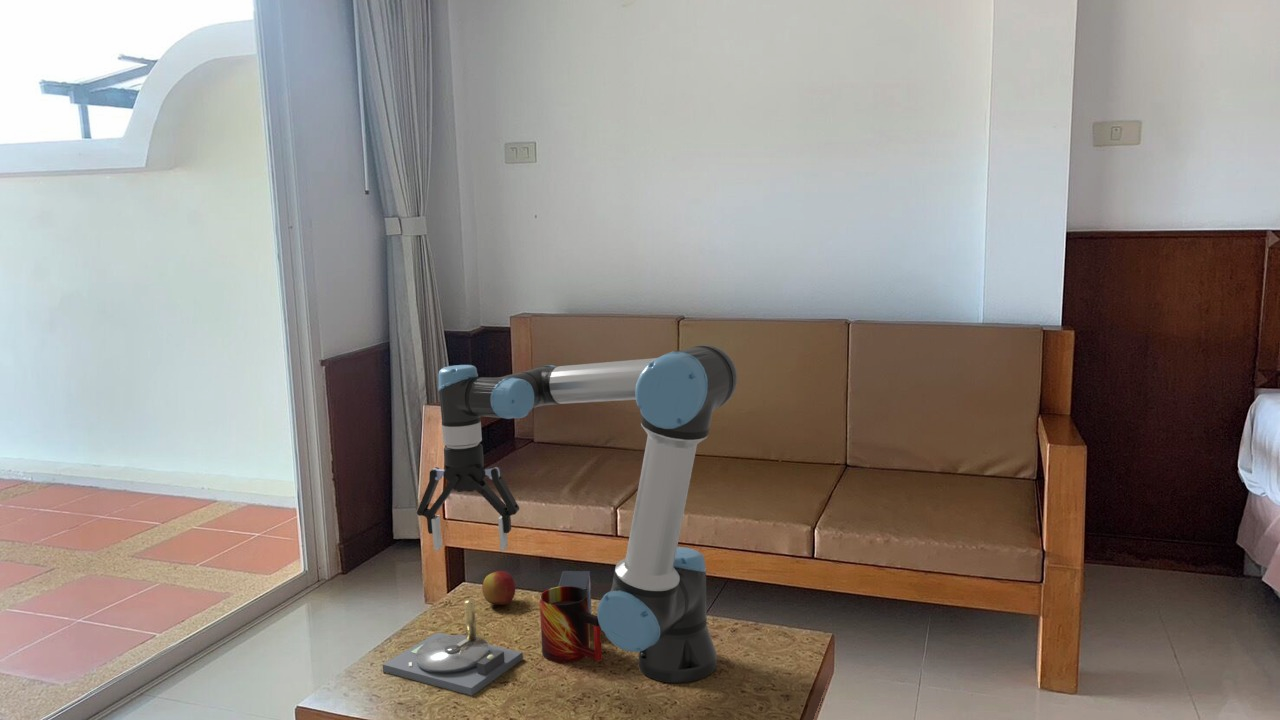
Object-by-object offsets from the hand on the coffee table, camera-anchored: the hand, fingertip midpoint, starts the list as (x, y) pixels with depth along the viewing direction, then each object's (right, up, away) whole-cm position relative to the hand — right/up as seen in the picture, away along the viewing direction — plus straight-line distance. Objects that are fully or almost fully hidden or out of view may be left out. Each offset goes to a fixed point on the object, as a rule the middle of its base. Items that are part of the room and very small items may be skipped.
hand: (471, 548), depth 184 cm
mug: (+21, -22, +2) cm, 30 cm away
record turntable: (-3, -23, -1) cm, 23 cm away
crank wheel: (-3, -21, -2) cm, 21 cm away
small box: (+20, -20, +15) cm, 32 cm away
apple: (+2, -19, +28) cm, 33 cm away
